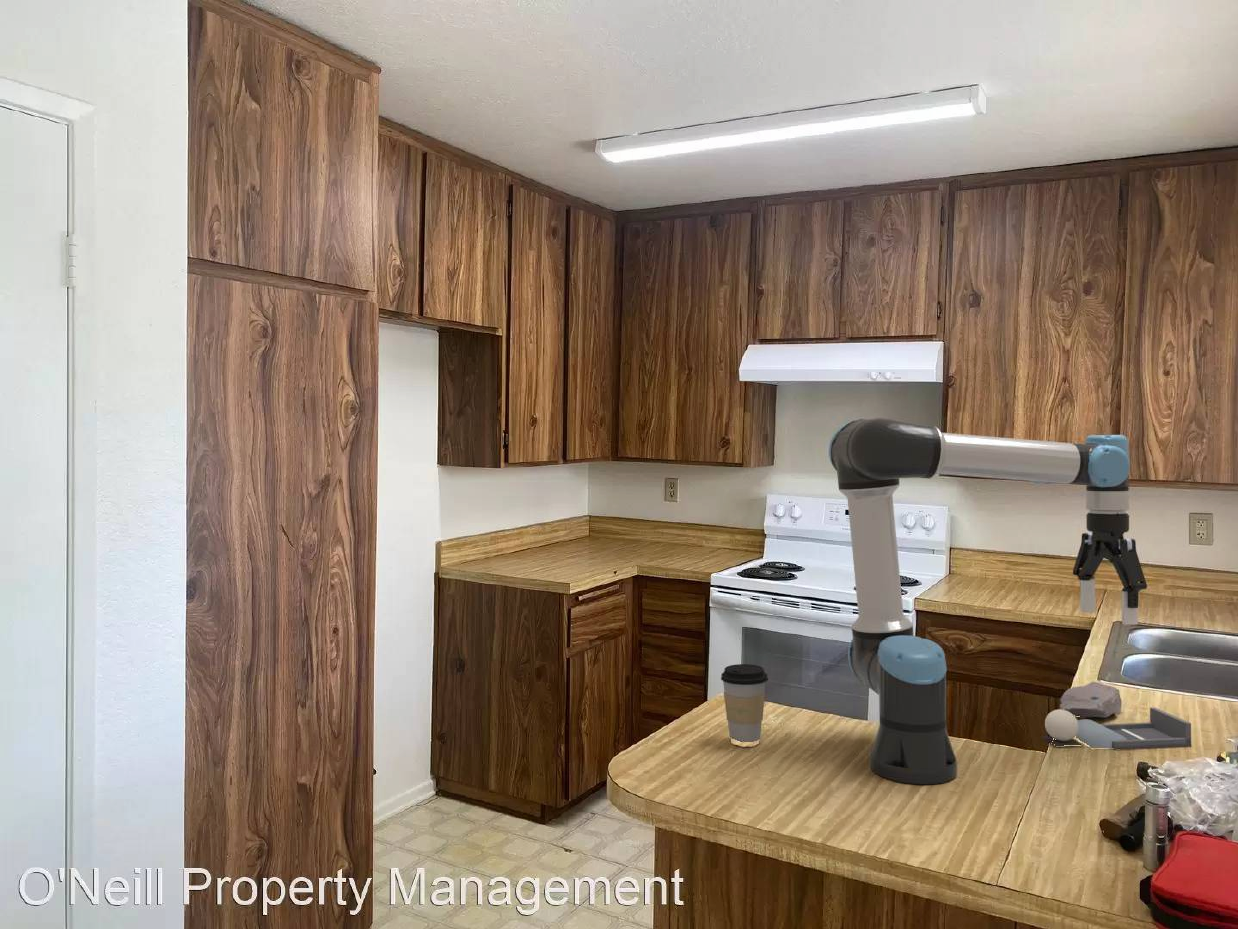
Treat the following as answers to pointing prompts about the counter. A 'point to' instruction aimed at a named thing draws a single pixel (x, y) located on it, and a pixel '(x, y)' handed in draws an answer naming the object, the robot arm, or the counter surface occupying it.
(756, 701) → the coffee cup
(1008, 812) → the counter surface
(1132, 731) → the tray
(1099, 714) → the stone
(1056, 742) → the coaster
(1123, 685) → the counter surface
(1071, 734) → the ball
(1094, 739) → the grey wedge
